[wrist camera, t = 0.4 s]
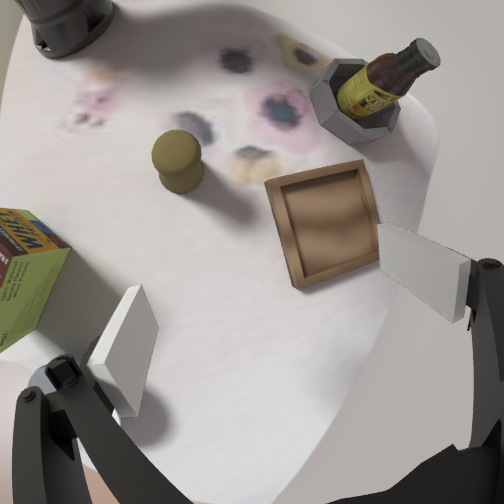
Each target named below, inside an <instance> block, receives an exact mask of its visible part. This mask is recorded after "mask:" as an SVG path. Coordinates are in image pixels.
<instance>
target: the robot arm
mask: <svg viewBox="0 0 504 504" xmlns="http://www.w3.org/2000/svg"><path fill="white" fill-rule="evenodd" d="M15 2H16V3H17V4H18V6H19V7H20V9H21V10H22V11H23V13H24V14H25V15H26V17H27V18H28V19H29V21H30V22H31V27H32V34H33V40H34V44H35V46H36V48H37V49H38V51H39V52H40V53H41V54H42V55H43V56H45V57H48V58H60V57H64V56H68V55H71V54H73V53H75V52H77V51H79V50H81V49H83V48H85V47H86V46H88V45H89V44H91V43H92V42H93V41H94V40H96V39H97V38H98V37H99V36H100V35H101V34H102V33H103V32H104V31H105V30H106V28H107V27H108V25H109V24H110V22H111V20H112V17H113V13H114V9H113V5H112V2H111V0H15ZM377 228H378V241H379V258H380V270H381V271H383V272H384V273H386V274H387V275H388V276H390V277H391V278H393V279H394V280H395V281H397V282H398V283H399V284H401V285H402V286H404V287H405V288H406V289H408V290H409V291H410V292H412V293H413V294H414V295H416V296H417V297H419V298H420V299H421V300H422V301H424V302H425V303H426V304H428V305H429V306H430V307H432V308H433V309H434V310H436V311H437V312H438V313H439V314H441V315H442V316H443V317H444V318H446V319H447V320H448V321H450V322H451V323H454V322H456V321H458V320H460V319H462V318H463V317H464V313H465V306H466V305H467V306H469V307H470V308H471V313H470V319H469V324H468V329H467V331H469V330H470V327H471V332H472V343H473V344H472V345H473V360H474V361H473V362H474V403H473V422H472V435H471V441H470V444H469V447H468V448H466V449H463V450H459V451H458V450H457V449H456V447H455V446H454V445H453V444H452V445H450V446H449V447H447V448H446V449H444V450H442V451H441V452H439V453H438V454H436V455H434V456H432V457H431V458H429V459H427V460H426V461H424V462H422V463H421V464H420V465H418V466H417V467H416V468H415V469H414V470H413V471H411V472H410V473H409V474H408V475H407V476H405V477H404V478H403V479H402V480H400V481H399V482H398V483H397V484H395V485H394V486H393V487H391V488H390V489H388V490H386V491H383V492H378V493H373V494H368V495H362V496H356V497H350V498H343V499H339V500H336V501H333V502H330V503H327V504H504V265H503V264H502V263H501V262H500V261H498V260H495V259H490V258H485V259H481V260H479V261H478V262H477V261H475V260H472V259H471V258H469V257H467V256H465V255H463V254H462V255H461V254H460V253H458V252H455V251H454V250H452V249H450V248H447V247H444V246H442V245H440V244H438V243H436V242H433V241H431V240H429V239H427V238H424V237H422V236H420V235H418V234H415V233H413V232H411V231H408V230H406V229H404V228H401V227H399V226H396V225H394V224H392V223H389V222H386V223H382V224H379V225H377ZM158 329H159V327H158V325H157V322H156V320H155V317H154V315H153V313H152V310H151V308H150V305H149V303H148V300H147V297H146V295H145V292H144V290H143V287H142V284H140V285H136V286H132V287H129V288H128V289H127V291H126V293H125V294H124V296H123V298H122V300H121V301H120V303H119V305H118V307H117V308H116V310H115V312H114V314H113V315H112V317H111V319H110V321H109V323H108V325H107V326H106V328H105V330H104V332H103V334H102V336H98V337H97V338H96V339H95V340H94V341H93V342H92V343H91V345H90V347H89V348H88V351H87V352H86V354H85V357H84V358H83V360H82V361H81V363H80V365H79V366H78V364H77V363H76V361H75V359H74V358H73V356H71V355H69V354H65V355H60V356H58V357H56V358H54V359H53V360H52V361H50V362H49V363H48V365H47V366H46V368H45V374H46V376H47V377H48V379H49V380H50V382H51V383H52V385H53V386H54V388H55V389H56V391H54V392H51V393H48V394H44V393H43V391H42V390H41V388H40V387H38V386H31V387H29V388H26V389H24V391H22V392H21V394H20V395H19V397H18V399H17V404H16V411H15V420H14V431H13V432H14V433H13V447H12V486H13V487H12V488H13V503H14V504H92V501H91V497H90V494H89V490H88V487H87V483H86V479H85V475H84V471H83V466H82V462H81V457H80V452H79V447H78V441H77V438H79V440H80V442H81V444H82V445H83V447H84V449H85V451H86V453H87V454H88V456H89V458H90V459H91V461H92V463H93V465H94V466H95V468H96V469H97V471H98V473H99V474H100V476H101V477H102V479H103V480H104V482H105V483H106V485H107V486H108V488H109V489H110V491H111V492H112V494H113V495H114V497H115V498H116V499H117V501H118V502H119V503H120V504H194V503H192V502H191V501H190V500H189V499H188V498H187V497H186V496H185V495H183V494H182V493H181V492H180V491H179V490H178V489H177V488H176V487H175V486H174V485H173V484H172V483H171V482H170V481H169V480H168V479H167V478H166V477H165V476H164V475H163V474H162V473H161V472H160V471H159V470H158V469H157V468H156V467H155V466H154V465H153V464H152V463H151V462H150V461H149V460H148V458H147V457H146V456H145V455H144V454H143V453H142V452H141V451H140V449H139V448H138V447H137V446H136V445H135V444H134V442H133V441H132V440H131V439H130V438H129V436H128V435H127V434H126V433H125V432H124V430H123V429H122V428H121V427H120V425H119V424H118V423H117V421H116V420H115V419H114V418H113V416H112V414H113V411H114V409H115V410H116V412H117V413H118V414H119V416H120V417H121V418H129V417H138V415H139V410H140V405H141V401H142V396H143V391H144V387H145V382H146V378H147V374H148V369H149V365H150V361H151V357H152V353H153V349H154V345H155V341H156V337H157V333H158Z"/></svg>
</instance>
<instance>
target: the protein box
mask: <svg viewBox="0 0 504 504" xmlns="http://www.w3.org/2000/svg"><path fill="white" fill-rule="evenodd" d="M70 250H71V247H70V246H69V245H68V244H66V243H65V242H64V241H63V240H61V239H60V238H59V237H58V236H57V235H55V234H54V233H53V232H52V231H51V230H50V229H48V228H47V227H46V226H45V225H44V224H43V223H41V222H40V221H39V220H38V219H37V218H35V217H34V216H33V215H32V214H31V213H30V212H29V211H27V210H20V209H9V208H0V353H1V352H3V351H4V350H6V349H7V348H8V347H10V346H11V345H13V344H14V343H16V342H17V341H19V340H20V339H21V338H23V337H24V336H26V335H27V334H29V333H30V332H32V331H33V330H35V329H36V326H37V324H38V321H39V319H40V316H41V313H42V311H43V308H44V306H45V304H46V301H47V299H48V297H49V294H50V292H51V290H52V287H53V285H54V283H55V281H56V279H57V277H58V274H59V272H60V270H61V268H62V266H63V264H64V262H65V260H66V258H67V256H68V254H69V252H70Z"/></svg>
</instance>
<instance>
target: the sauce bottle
mask: <svg viewBox="0 0 504 504" xmlns="http://www.w3.org/2000/svg"><path fill="white" fill-rule="evenodd" d="M439 65H440V57H439V54H438V52H437V51H436V49H435V48H434V47H433V46H432V45H431V44H430V43H429V42H428V41H427V40H425V39H422V38H417V39H416V40H414V41H413V42H411V43H410V46H409V47H407V48H406V49H404V50H403V51H400V52H399V53H398V54H394V53H387V54H383V55H381V56H379V57H378V58H376V59H375V60H374V61H372V62H370V63H369V64H367V65H366V66H365V67H364V68H363V69H361V70H360V71H359V72H358V73H356V74H355V75H354V76H353V77H352V78H350V79H349V80H348V81H347V82H345V83H344V84H343V85H342V86H341V87H340V88H339V89H338V91H337V92H336V93H335V94H334V98H335V101H336V103H337V106H338V109H339V111H341V112H342V113H343V114H345V115H346V116H348V117H349V118H350V119H352V120H353V121H357V120H360V119H364V118H365V117H367V116H369V115H371V114H372V113H374V112H376V111H378V110H379V109H381V108H383V107H385V106H387V105H388V104H390V103H392V102H394V101H396V100H397V99H399V98H401V97H403V96H405V95H406V93H407V92H408V90H409V89H410V87H411V86H412V84H413V83H414V81H415V79H416V78H418V77H419V76H420V75H422V74H423V73H425V72H427V71H428V70H434V69H435V68H437V67H438V66H439Z"/></svg>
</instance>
